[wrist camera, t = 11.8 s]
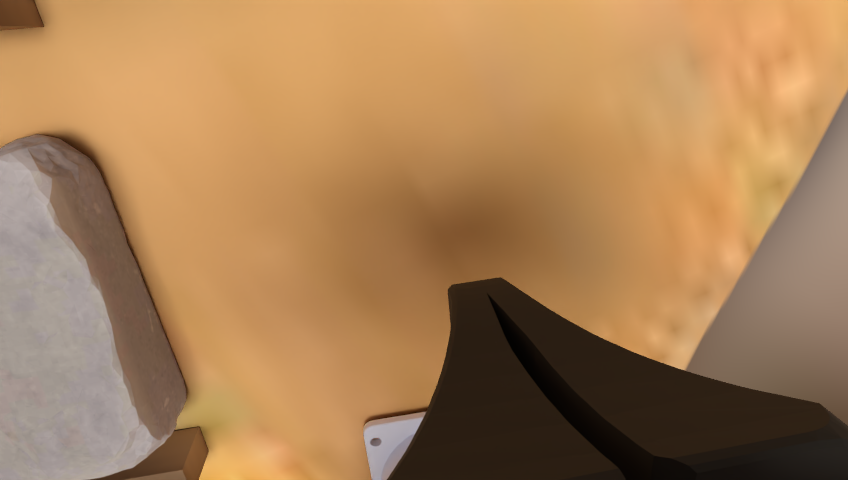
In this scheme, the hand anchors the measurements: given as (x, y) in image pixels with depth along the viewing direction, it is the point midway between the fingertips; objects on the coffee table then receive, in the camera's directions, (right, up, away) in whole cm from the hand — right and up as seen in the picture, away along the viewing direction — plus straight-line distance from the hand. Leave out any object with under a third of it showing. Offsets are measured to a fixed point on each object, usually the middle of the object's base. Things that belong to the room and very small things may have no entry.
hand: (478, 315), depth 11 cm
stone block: (-16, 0, +6) cm, 18 cm away
